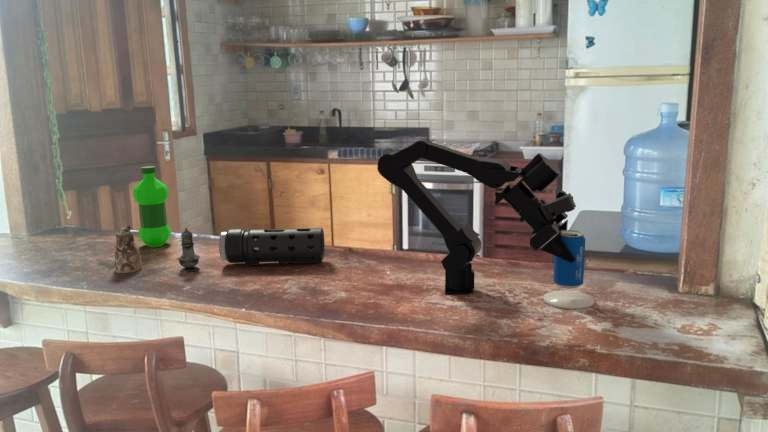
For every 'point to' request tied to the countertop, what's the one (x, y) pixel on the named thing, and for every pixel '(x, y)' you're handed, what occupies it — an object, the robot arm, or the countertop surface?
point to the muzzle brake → (272, 246)
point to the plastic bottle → (152, 208)
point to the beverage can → (566, 271)
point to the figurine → (126, 252)
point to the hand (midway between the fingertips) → (575, 257)
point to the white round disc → (569, 299)
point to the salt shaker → (188, 254)
